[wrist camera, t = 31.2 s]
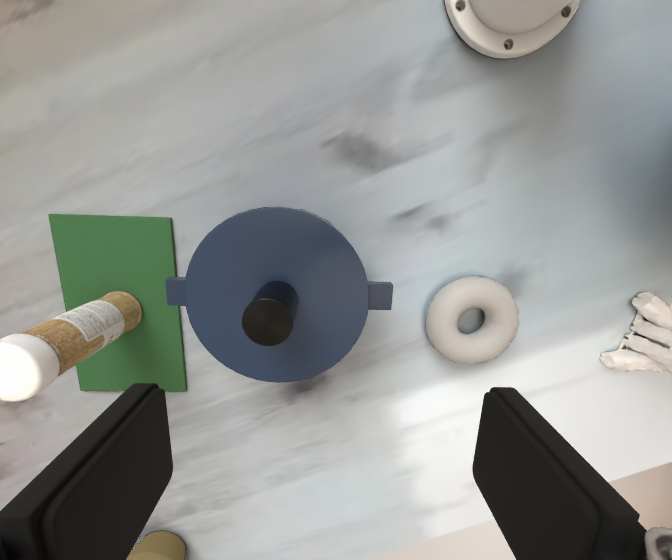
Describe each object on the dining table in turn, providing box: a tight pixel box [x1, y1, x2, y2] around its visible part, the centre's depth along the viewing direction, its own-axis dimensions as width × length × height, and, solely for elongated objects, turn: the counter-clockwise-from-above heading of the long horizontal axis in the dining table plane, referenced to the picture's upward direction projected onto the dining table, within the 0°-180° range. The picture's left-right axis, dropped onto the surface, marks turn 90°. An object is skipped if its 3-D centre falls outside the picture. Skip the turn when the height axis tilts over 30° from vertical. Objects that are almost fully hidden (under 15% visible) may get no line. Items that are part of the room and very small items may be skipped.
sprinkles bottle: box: [0, 291, 142, 401], centre depth 29 cm, size 5×5×14 cm
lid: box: [185, 207, 369, 382], centre depth 26 cm, size 16×16×6 cm
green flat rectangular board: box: [49, 214, 187, 392], centre depth 35 cm, size 20×12×1 cm, turn 178°
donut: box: [425, 276, 519, 364], centre depth 35 cm, size 10×4×10 cm
